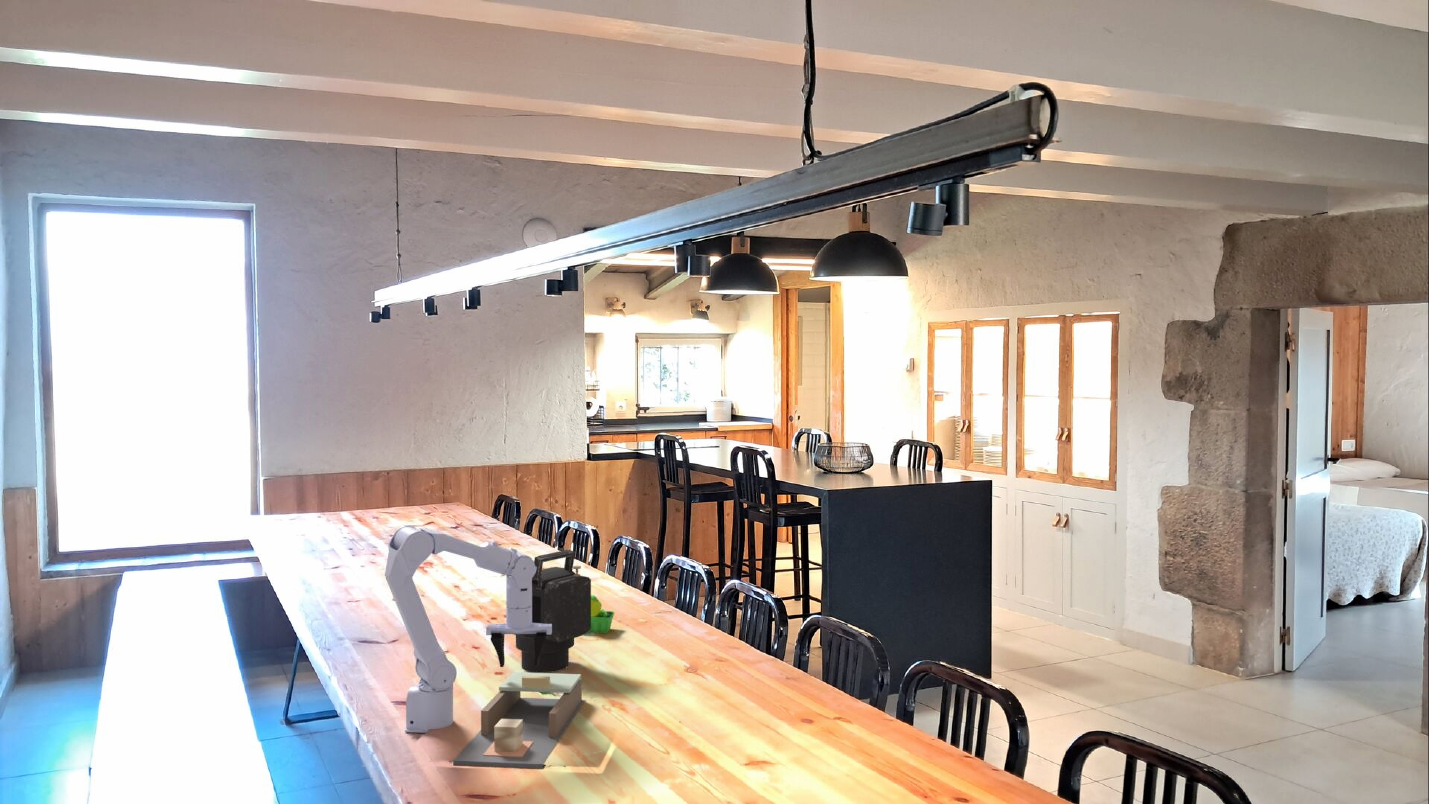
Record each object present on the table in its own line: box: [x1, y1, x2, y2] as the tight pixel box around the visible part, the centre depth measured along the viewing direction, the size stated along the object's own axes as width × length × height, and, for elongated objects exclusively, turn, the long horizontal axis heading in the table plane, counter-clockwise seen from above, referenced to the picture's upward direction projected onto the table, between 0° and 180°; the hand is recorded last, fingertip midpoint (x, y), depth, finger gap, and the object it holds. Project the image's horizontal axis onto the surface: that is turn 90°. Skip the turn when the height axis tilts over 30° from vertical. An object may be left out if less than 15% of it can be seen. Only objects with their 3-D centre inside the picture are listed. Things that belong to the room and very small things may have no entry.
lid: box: [498, 671, 582, 694], centre depth 229 cm, size 16×11×3 cm
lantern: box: [513, 549, 592, 673], centre depth 263 cm, size 15×18×30 cm
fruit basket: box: [587, 594, 615, 634], centre depth 299 cm, size 11×9×11 cm
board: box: [452, 677, 586, 770], centre depth 216 cm, size 18×38×6 cm, turn 175°
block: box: [494, 719, 523, 752], centre depth 204 cm, size 4×4×5 cm
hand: (519, 665), depth 229 cm, fingers open, 7 cm apart
